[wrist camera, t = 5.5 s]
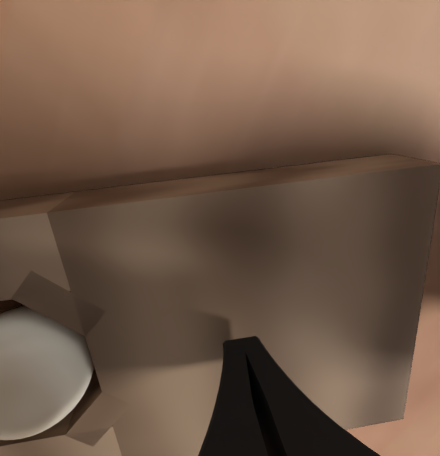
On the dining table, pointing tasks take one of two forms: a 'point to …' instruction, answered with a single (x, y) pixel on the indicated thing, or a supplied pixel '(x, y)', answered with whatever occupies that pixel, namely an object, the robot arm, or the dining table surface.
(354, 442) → the robot arm
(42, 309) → the walnut board
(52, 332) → the off-white ball
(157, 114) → the dining table surface
